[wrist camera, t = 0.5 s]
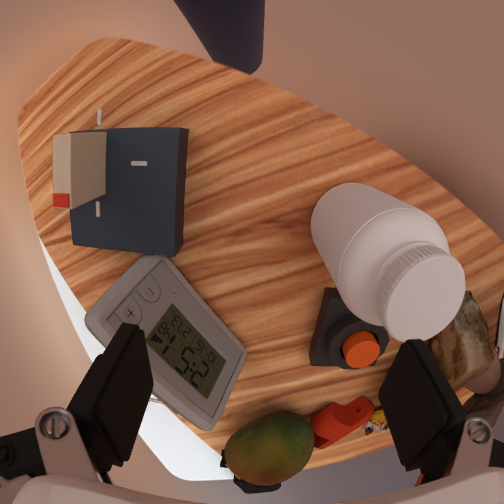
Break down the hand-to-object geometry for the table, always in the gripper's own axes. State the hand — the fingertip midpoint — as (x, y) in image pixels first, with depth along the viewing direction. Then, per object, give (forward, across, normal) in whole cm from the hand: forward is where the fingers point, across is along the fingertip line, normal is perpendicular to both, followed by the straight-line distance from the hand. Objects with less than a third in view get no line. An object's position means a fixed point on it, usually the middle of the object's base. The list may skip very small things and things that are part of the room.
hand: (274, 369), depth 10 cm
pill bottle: (+19, -8, 0) cm, 20 cm away
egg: (+18, -32, +16) cm, 40 cm away
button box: (+18, -11, +11) cm, 24 cm away
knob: (+16, +15, -5) cm, 22 cm away
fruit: (+18, -4, +30) cm, 35 cm away
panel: (+19, +14, -3) cm, 23 cm away
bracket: (+16, -14, +29) cm, 36 cm away
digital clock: (+19, +7, +11) cm, 23 cm away
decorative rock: (+12, -24, +8) cm, 28 cm away
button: (+15, -11, +11) cm, 21 cm away
